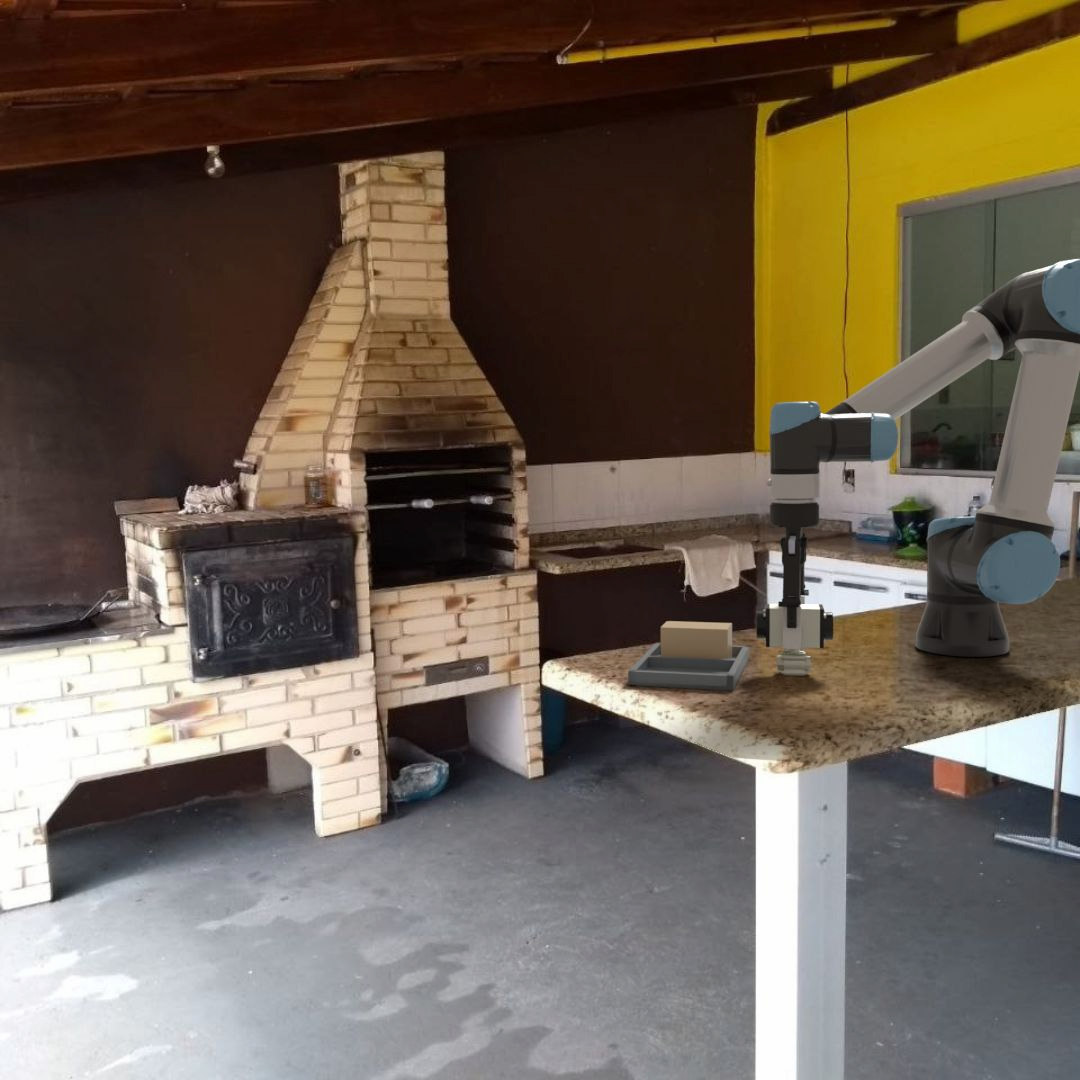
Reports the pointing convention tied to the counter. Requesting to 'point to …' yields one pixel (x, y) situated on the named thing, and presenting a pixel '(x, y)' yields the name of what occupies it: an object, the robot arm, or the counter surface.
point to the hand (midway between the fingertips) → (794, 641)
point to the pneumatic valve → (812, 635)
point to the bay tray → (692, 658)
